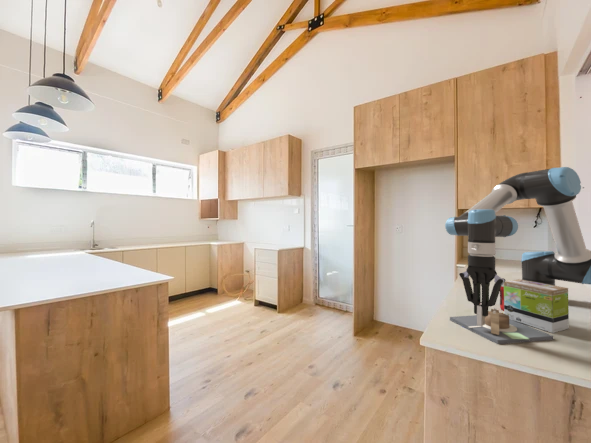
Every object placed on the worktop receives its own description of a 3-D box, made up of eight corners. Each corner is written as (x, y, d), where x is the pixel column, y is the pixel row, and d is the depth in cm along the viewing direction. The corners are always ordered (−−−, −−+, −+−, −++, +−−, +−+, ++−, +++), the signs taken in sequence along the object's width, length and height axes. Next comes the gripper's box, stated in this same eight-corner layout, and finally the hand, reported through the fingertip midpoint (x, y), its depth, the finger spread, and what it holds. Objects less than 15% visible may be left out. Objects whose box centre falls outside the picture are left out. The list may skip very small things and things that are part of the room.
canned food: (529, 314, 103) (529, 287, 103) (507, 313, 104) (506, 286, 104) (517, 308, 110) (516, 283, 110) (496, 307, 112) (495, 282, 112)
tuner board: (495, 317, 100) (495, 313, 100) (556, 340, 80) (556, 336, 80) (448, 320, 98) (448, 316, 98) (498, 345, 77) (498, 341, 77)
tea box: (503, 318, 99) (502, 280, 99) (519, 315, 102) (518, 278, 103) (553, 334, 85) (552, 289, 85) (570, 329, 88) (569, 286, 88)
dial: (484, 319, 94) (484, 299, 94) (509, 324, 90) (509, 302, 90) (481, 332, 83) (480, 309, 83) (509, 338, 78) (508, 314, 78)
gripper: (455, 253, 89) (455, 320, 89) (499, 258, 78) (499, 334, 78) (465, 252, 93) (465, 316, 93) (509, 256, 82) (509, 329, 82)
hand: (481, 324), depth 86 cm, fingers closed
